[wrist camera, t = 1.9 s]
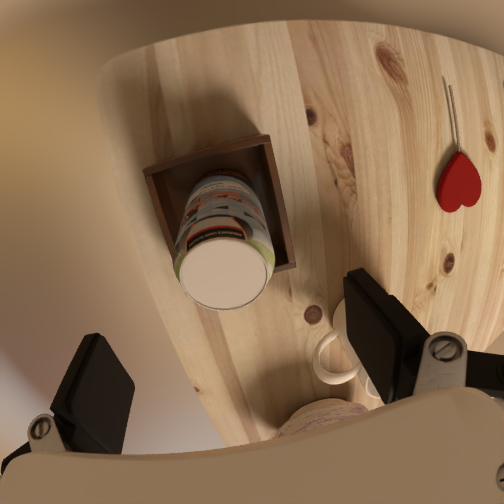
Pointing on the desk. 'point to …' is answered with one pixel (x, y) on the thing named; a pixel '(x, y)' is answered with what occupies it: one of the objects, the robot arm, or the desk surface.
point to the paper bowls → (319, 415)
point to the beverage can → (223, 243)
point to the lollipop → (458, 178)
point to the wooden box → (214, 158)
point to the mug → (358, 368)
